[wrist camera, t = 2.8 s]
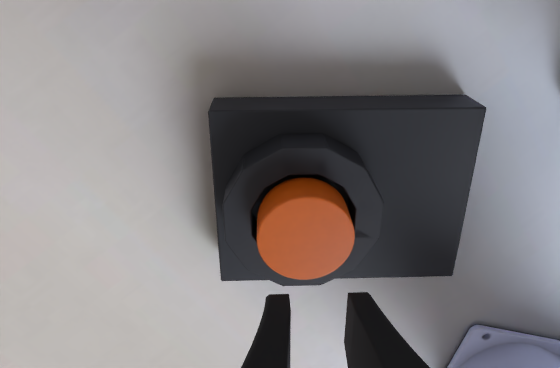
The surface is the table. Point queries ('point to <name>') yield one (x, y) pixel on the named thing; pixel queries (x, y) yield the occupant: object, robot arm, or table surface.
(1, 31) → the table surface
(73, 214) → the table surface
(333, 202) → the power button
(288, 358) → the robot arm
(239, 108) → the push button base
